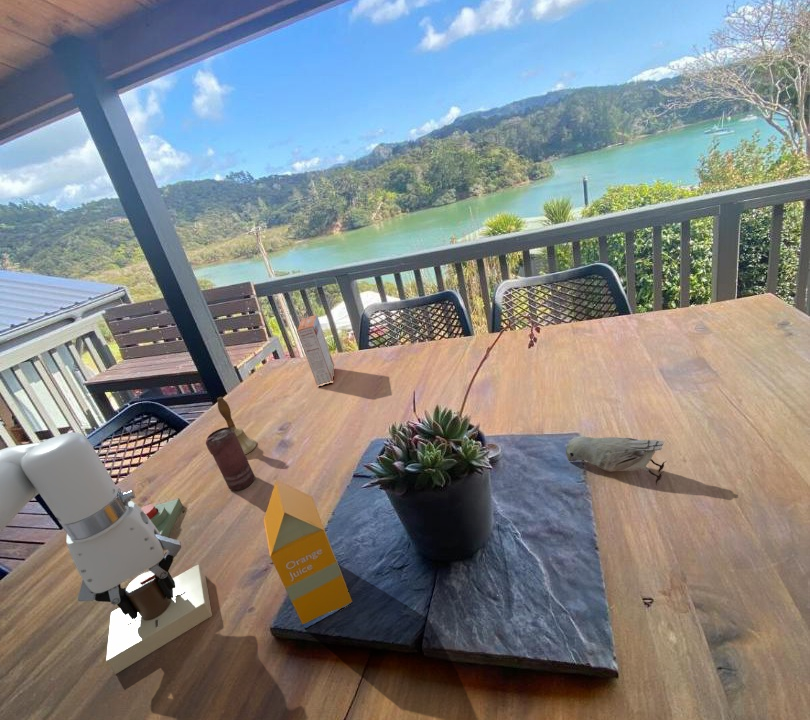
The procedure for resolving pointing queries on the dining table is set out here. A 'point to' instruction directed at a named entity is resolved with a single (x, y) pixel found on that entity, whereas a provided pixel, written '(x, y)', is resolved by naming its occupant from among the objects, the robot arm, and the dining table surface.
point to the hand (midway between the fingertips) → (152, 601)
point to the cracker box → (316, 349)
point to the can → (230, 458)
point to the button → (149, 510)
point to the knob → (147, 596)
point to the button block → (166, 516)
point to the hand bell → (244, 441)
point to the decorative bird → (615, 453)
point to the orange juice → (303, 553)
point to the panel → (158, 622)
